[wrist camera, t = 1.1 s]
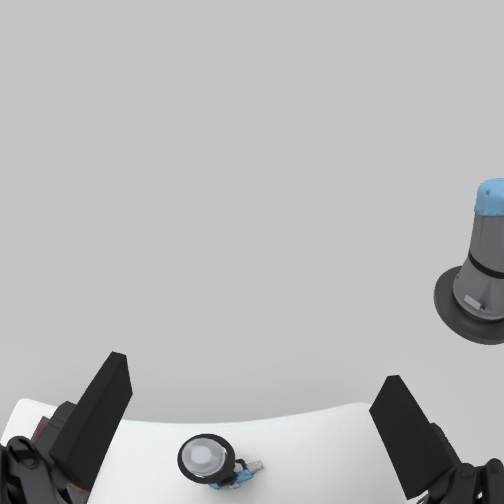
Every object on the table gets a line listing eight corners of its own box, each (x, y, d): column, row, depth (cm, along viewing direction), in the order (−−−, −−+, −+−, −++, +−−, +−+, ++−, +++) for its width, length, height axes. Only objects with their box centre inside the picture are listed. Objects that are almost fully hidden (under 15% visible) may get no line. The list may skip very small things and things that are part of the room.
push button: (255, 449, 26) (233, 417, 21) (273, 483, 21) (255, 464, 16) (204, 467, 24) (167, 438, 19) (218, 502, 19) (180, 487, 15)
